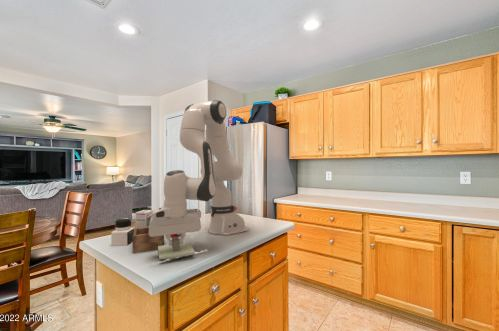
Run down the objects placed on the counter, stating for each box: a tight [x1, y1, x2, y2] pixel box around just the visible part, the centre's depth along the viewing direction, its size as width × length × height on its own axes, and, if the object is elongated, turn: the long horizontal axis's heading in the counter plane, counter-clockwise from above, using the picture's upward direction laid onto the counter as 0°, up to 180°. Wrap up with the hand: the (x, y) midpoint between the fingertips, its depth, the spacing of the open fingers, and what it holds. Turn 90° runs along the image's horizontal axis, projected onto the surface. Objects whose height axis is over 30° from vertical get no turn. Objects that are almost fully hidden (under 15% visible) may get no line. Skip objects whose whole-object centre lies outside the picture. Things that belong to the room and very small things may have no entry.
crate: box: [132, 227, 165, 254], centre depth 100 cm, size 12×12×8 cm
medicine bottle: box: [110, 218, 135, 247], centre depth 105 cm, size 7×7×12 cm
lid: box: [157, 237, 196, 260], centre depth 92 cm, size 13×13×6 cm
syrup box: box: [135, 209, 154, 229], centre depth 111 cm, size 6×6×14 cm
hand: (175, 244), depth 92 cm, fingers closed on lid, 2 cm apart
